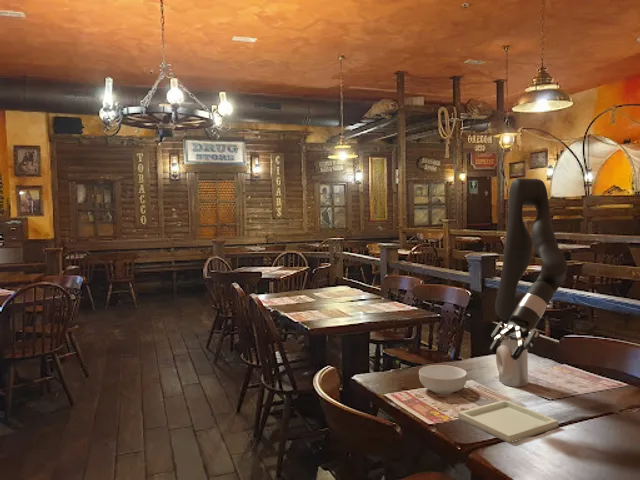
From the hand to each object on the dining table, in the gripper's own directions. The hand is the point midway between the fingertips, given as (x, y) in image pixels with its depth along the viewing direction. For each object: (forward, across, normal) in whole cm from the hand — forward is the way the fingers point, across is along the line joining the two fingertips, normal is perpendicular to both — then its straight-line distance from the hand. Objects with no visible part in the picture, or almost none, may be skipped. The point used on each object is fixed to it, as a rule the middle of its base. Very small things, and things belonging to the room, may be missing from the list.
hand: (502, 355), depth 152 cm
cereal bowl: (+12, -32, +18) cm, 39 cm away
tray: (+14, 0, +16) cm, 21 cm away
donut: (+4, 0, +6) cm, 7 cm away
